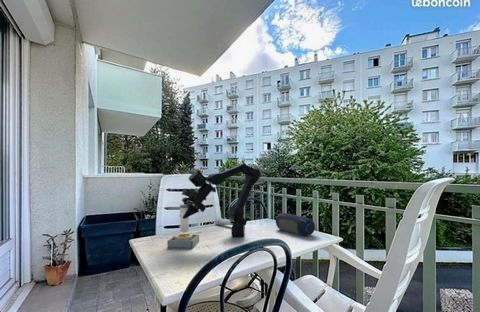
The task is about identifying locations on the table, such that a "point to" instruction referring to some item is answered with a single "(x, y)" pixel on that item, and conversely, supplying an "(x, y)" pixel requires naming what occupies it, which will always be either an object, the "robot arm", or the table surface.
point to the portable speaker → (295, 224)
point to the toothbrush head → (223, 222)
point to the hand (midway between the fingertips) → (181, 217)
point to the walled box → (183, 241)
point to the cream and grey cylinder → (184, 222)
